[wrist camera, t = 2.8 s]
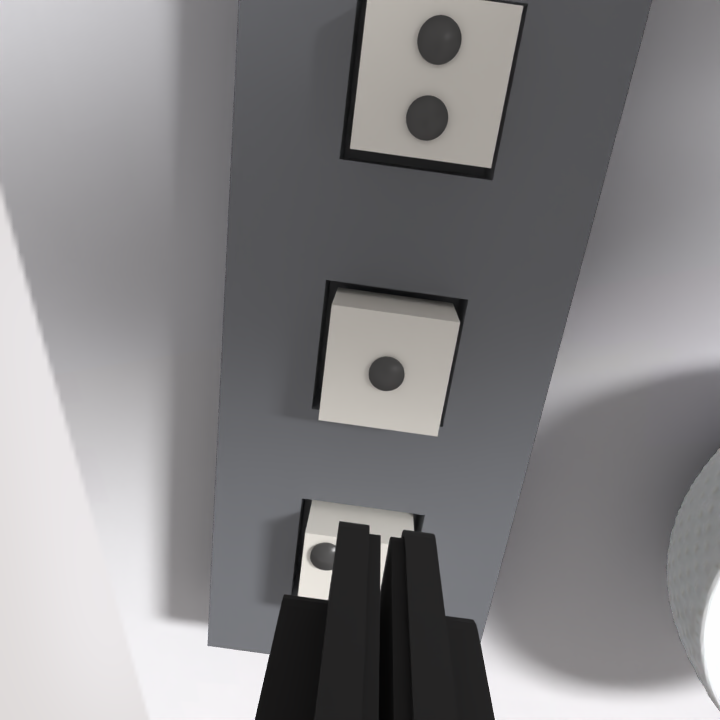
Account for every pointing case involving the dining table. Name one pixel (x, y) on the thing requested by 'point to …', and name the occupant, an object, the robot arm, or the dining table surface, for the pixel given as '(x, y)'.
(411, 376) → the button one dot
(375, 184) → the button panel
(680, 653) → the dining table surface
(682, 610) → the cereal bowl
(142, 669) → the dining table surface
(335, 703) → the robot arm
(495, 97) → the button two dots
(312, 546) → the button three dots
